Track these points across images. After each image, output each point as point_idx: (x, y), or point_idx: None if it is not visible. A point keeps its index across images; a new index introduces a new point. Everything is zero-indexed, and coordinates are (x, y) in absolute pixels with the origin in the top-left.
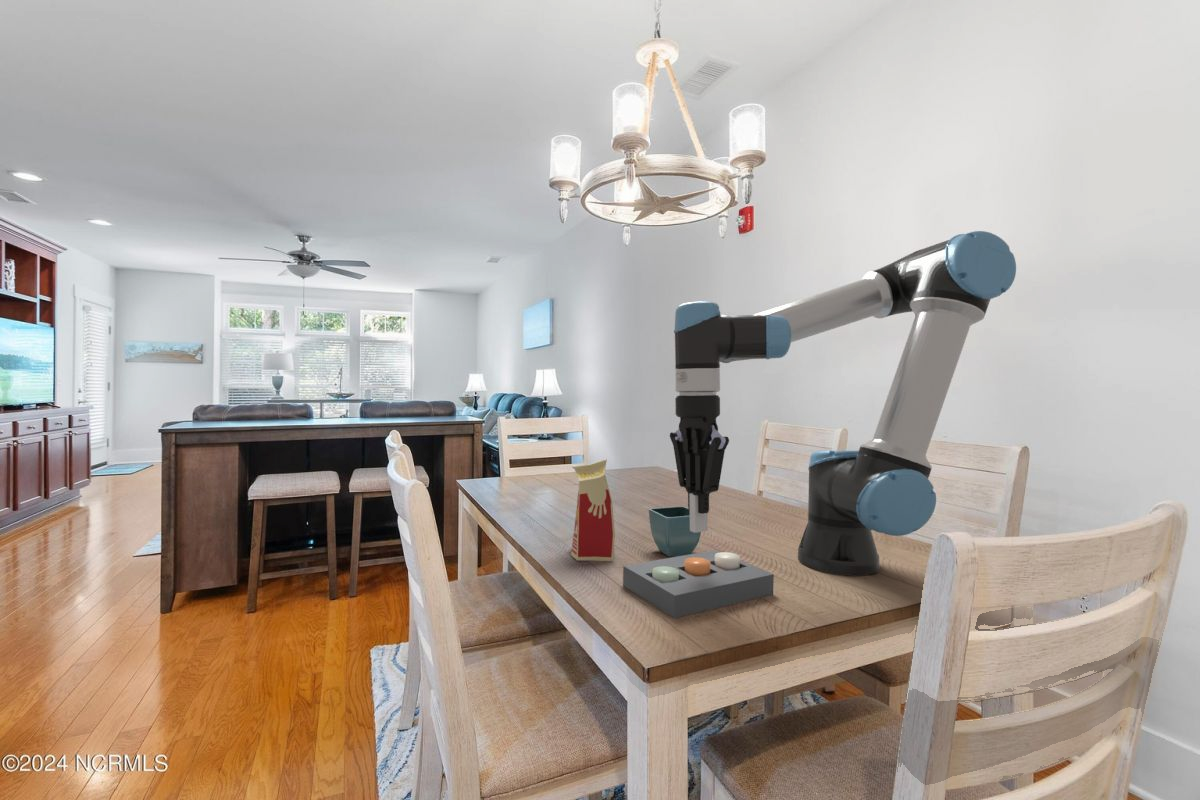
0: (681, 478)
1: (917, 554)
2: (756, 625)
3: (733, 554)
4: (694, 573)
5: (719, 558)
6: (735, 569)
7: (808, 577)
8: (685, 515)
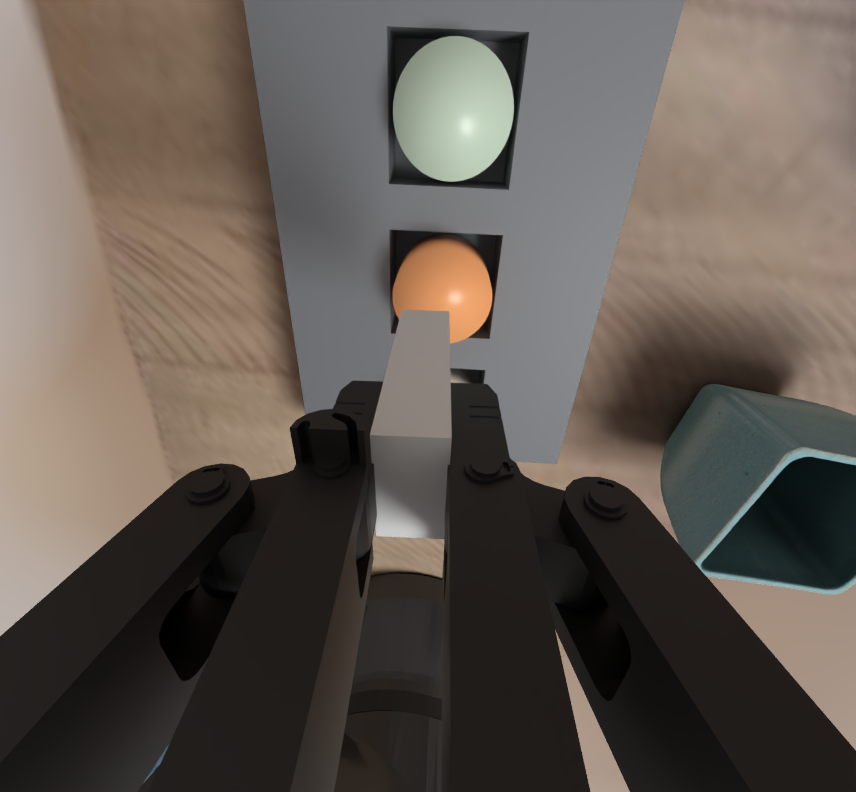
0: (623, 553)
1: None
2: (166, 234)
3: None
4: (414, 248)
5: None
6: None
7: (375, 536)
8: (791, 559)
